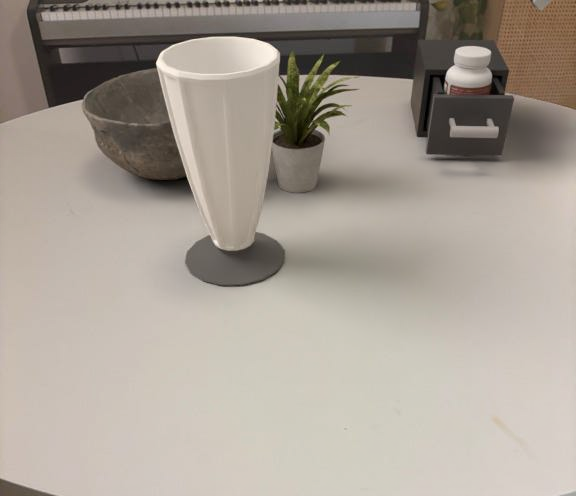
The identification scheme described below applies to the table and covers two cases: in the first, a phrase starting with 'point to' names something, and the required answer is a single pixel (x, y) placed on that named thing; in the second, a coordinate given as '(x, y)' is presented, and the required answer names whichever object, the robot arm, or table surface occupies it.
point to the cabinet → (445, 71)
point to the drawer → (466, 120)
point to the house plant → (302, 127)
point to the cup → (225, 149)
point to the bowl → (135, 125)
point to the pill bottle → (469, 72)
